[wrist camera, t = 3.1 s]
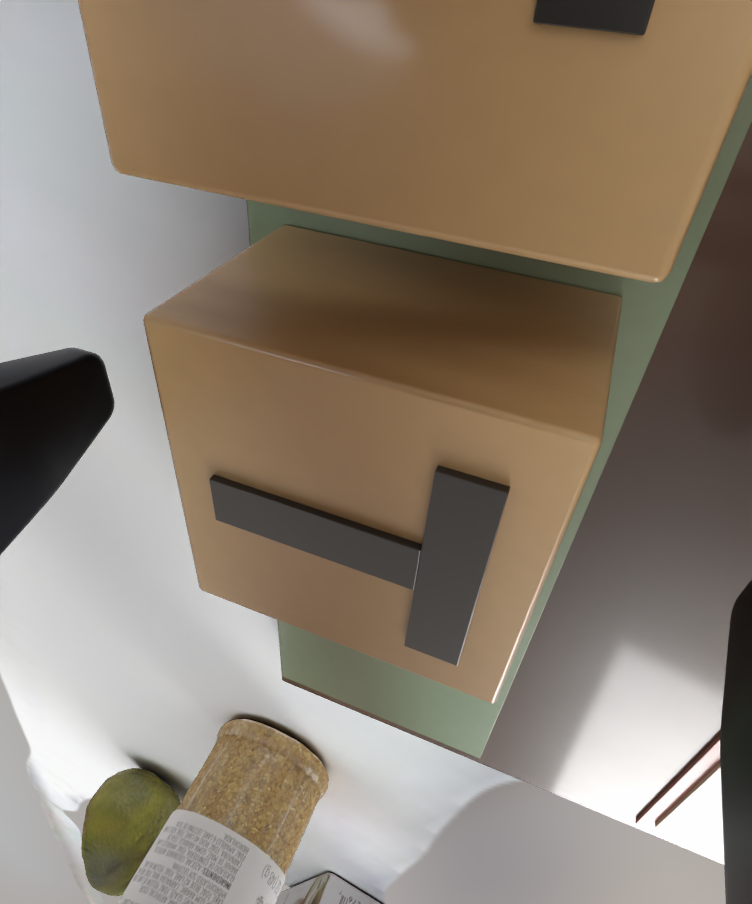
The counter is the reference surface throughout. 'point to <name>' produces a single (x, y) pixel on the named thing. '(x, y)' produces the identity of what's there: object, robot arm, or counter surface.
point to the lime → (124, 827)
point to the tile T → (383, 442)
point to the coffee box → (324, 892)
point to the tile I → (436, 113)
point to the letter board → (612, 546)
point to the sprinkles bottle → (234, 822)
